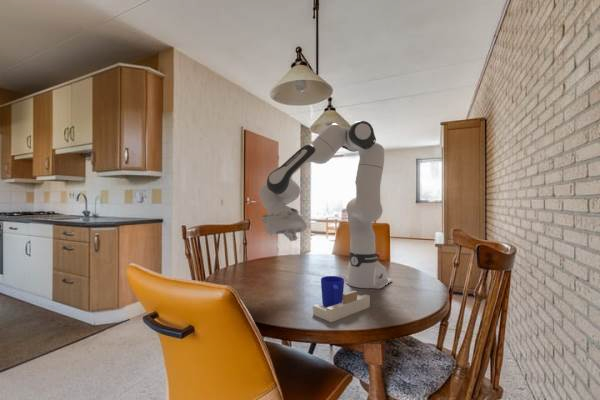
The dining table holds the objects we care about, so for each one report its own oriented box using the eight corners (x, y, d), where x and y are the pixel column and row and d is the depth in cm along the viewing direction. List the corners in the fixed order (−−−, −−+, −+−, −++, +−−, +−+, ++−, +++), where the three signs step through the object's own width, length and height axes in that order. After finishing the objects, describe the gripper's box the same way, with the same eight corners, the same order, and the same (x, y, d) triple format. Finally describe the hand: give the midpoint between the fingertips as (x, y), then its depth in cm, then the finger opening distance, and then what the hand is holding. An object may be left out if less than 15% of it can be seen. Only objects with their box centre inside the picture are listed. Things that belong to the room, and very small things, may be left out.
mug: (323, 316, 95) (324, 285, 95) (319, 303, 107) (319, 276, 107) (348, 316, 95) (349, 285, 95) (341, 302, 107) (341, 275, 107)
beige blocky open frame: (351, 300, 110) (352, 282, 109) (369, 307, 103) (369, 287, 103) (313, 314, 96) (313, 293, 96) (330, 322, 90) (330, 299, 90)
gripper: (263, 209, 118) (277, 236, 111) (300, 209, 132) (315, 233, 125) (256, 220, 122) (270, 246, 115) (293, 218, 136) (307, 242, 128)
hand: (294, 239), depth 120 cm, fingers closed
